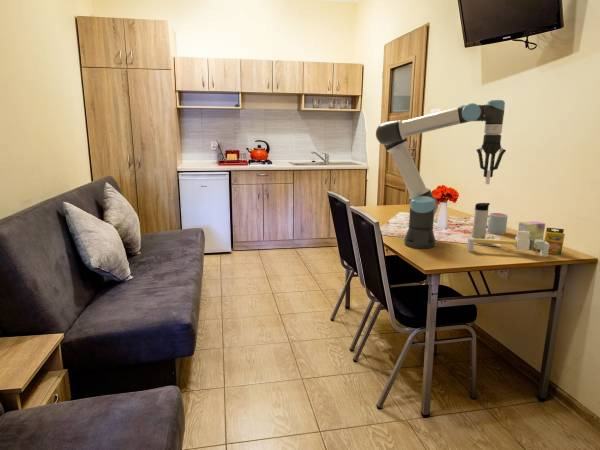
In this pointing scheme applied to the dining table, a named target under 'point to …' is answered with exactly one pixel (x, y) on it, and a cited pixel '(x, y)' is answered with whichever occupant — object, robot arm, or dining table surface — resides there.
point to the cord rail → (537, 244)
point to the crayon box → (554, 240)
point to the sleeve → (522, 240)
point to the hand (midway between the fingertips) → (487, 183)
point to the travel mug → (480, 220)
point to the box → (533, 229)
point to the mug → (497, 223)
